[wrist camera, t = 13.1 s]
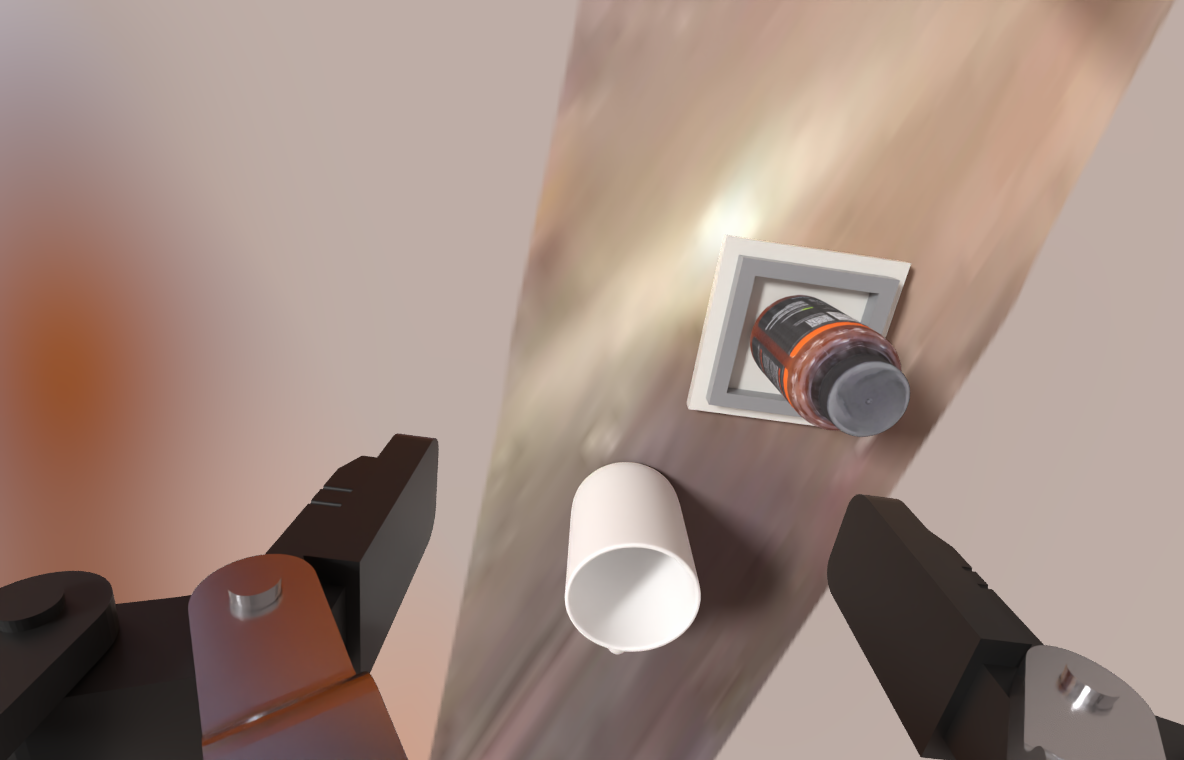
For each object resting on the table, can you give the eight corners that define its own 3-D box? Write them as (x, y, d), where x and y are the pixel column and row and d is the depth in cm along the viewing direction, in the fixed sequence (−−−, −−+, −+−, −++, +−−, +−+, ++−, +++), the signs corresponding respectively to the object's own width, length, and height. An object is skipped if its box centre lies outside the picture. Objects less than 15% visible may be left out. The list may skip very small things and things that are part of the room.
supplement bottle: (789, 394, 39) (860, 478, 29) (728, 341, 38) (779, 409, 27) (855, 330, 38) (957, 395, 27) (794, 273, 36) (876, 317, 26)
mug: (659, 590, 47) (676, 701, 37) (560, 579, 46) (551, 688, 37) (687, 464, 42) (714, 552, 33) (578, 451, 42) (573, 536, 32)
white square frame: (723, 234, 36) (731, 238, 34) (903, 260, 37) (921, 266, 35) (686, 403, 41) (691, 416, 39) (847, 424, 41) (861, 438, 39)
